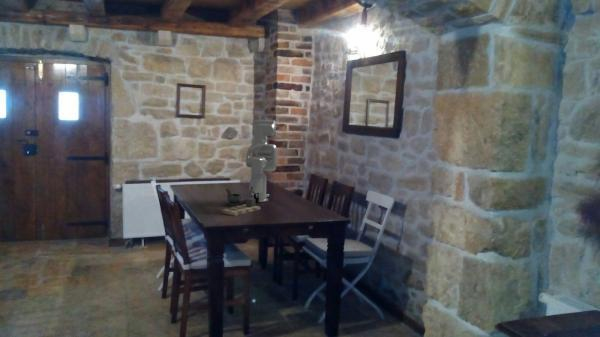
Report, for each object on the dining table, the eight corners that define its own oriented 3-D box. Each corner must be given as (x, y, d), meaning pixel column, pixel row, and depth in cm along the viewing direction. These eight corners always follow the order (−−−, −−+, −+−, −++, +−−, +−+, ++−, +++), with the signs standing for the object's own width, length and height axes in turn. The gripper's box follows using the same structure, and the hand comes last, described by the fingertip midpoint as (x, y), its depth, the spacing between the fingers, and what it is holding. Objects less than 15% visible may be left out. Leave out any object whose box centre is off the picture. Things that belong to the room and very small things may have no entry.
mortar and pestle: (238, 203, 344) (238, 186, 343) (243, 205, 336) (243, 188, 335) (223, 204, 339) (223, 187, 338) (227, 206, 331) (228, 189, 329)
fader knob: (249, 204, 328) (249, 198, 328) (255, 205, 326) (255, 199, 325) (245, 205, 325) (246, 198, 324) (251, 206, 322) (251, 199, 322)
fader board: (246, 207, 331) (246, 204, 331) (260, 209, 325) (260, 206, 325) (220, 213, 310) (220, 209, 309) (235, 215, 303) (235, 212, 303)
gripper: (259, 174, 336) (258, 200, 338) (245, 176, 324) (245, 203, 326) (267, 175, 332) (267, 202, 334) (254, 178, 320) (253, 205, 322)
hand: (256, 202), depth 330 cm, fingers closed
